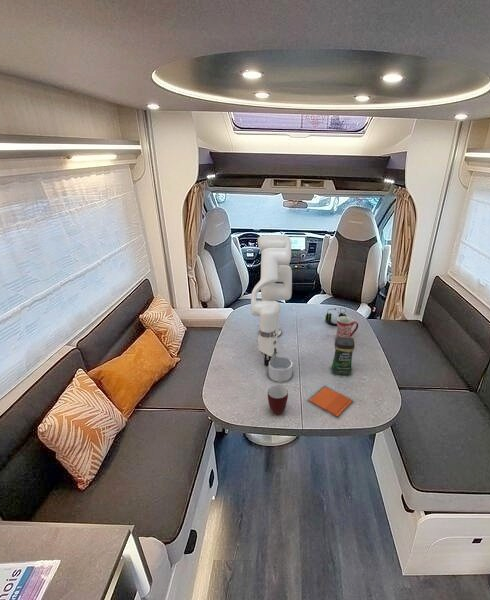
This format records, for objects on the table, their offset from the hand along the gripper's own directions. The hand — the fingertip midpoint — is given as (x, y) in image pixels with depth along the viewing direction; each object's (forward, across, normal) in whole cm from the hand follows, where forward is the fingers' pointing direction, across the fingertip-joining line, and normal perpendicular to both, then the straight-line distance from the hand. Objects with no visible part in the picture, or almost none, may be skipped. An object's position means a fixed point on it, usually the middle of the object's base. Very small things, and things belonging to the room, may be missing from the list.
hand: (267, 364), depth 155 cm
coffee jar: (+2, -28, -23) cm, 37 cm away
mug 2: (+2, -14, -51) cm, 53 cm away
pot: (+2, -8, 0) cm, 9 cm away
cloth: (+2, -37, -2) cm, 37 cm away
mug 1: (+2, -23, +18) cm, 29 cm away
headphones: (+1, +2, -67) cm, 67 cm away
